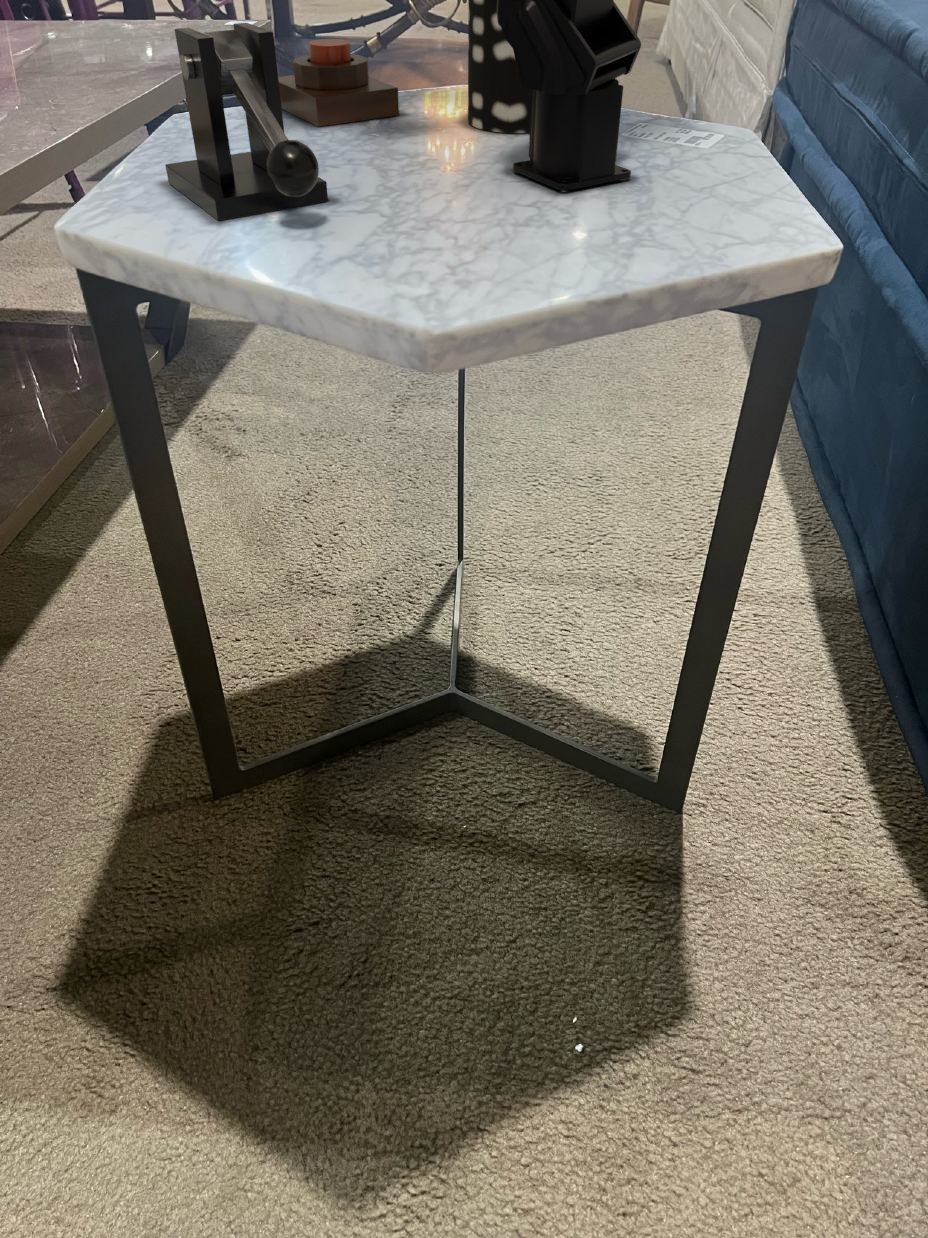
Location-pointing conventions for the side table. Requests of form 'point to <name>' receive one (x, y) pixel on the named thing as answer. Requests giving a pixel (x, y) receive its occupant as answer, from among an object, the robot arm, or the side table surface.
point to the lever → (263, 118)
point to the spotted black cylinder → (494, 75)
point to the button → (329, 51)
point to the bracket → (217, 173)
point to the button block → (336, 92)
